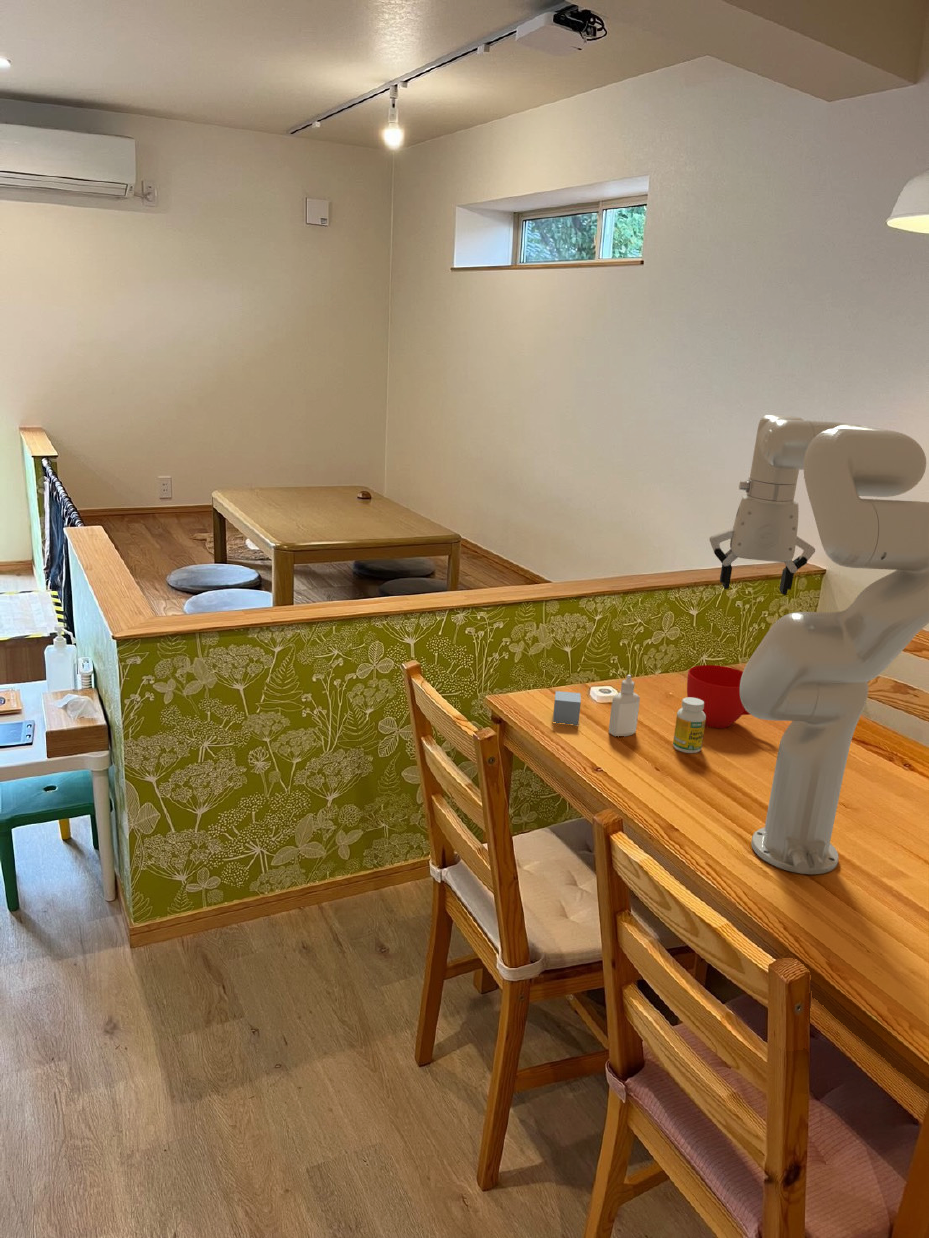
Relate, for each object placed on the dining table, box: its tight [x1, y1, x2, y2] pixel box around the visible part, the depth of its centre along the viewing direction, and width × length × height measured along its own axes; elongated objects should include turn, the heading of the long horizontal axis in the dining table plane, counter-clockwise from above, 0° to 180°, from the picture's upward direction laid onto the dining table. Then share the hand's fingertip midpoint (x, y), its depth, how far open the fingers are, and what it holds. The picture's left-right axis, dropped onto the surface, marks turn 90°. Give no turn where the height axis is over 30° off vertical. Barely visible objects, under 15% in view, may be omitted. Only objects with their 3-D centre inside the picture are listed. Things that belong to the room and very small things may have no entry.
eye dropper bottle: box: [608, 674, 641, 738], centre depth 183 cm, size 4×6×12 cm
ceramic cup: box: [686, 664, 752, 729], centre depth 191 cm, size 13×17×10 cm
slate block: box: [552, 690, 582, 726], centre depth 189 cm, size 5×5×5 cm
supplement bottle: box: [672, 696, 706, 754], centre depth 179 cm, size 5×5×10 cm
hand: (754, 590), depth 163 cm, fingers open, 9 cm apart
